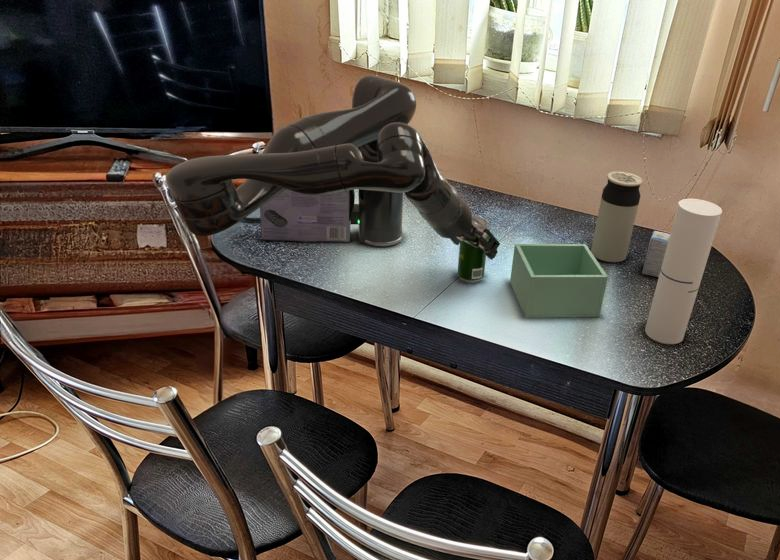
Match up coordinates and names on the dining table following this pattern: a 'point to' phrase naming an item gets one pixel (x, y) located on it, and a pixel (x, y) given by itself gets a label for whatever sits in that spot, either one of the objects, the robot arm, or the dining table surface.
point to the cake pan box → (307, 216)
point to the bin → (557, 280)
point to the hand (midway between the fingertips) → (476, 247)
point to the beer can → (472, 257)
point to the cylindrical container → (682, 269)
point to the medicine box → (655, 253)
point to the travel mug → (616, 216)
